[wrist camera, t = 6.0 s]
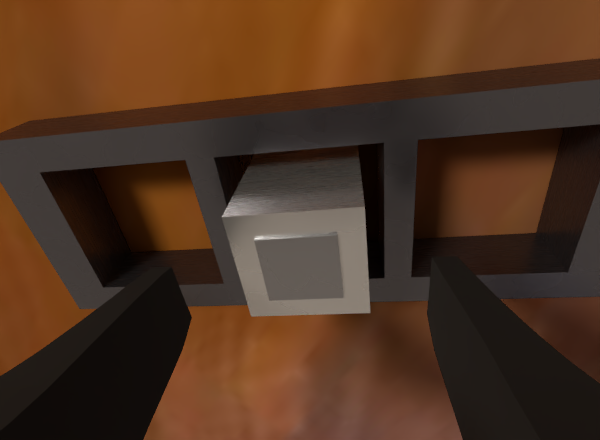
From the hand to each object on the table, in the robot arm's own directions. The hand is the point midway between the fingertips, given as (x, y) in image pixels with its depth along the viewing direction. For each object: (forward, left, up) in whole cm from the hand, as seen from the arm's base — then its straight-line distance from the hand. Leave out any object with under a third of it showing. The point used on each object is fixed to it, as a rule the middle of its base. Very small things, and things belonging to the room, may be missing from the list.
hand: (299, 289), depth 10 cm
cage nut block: (0, 0, -6) cm, 6 cm away
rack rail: (0, 0, -6) cm, 6 cm away
